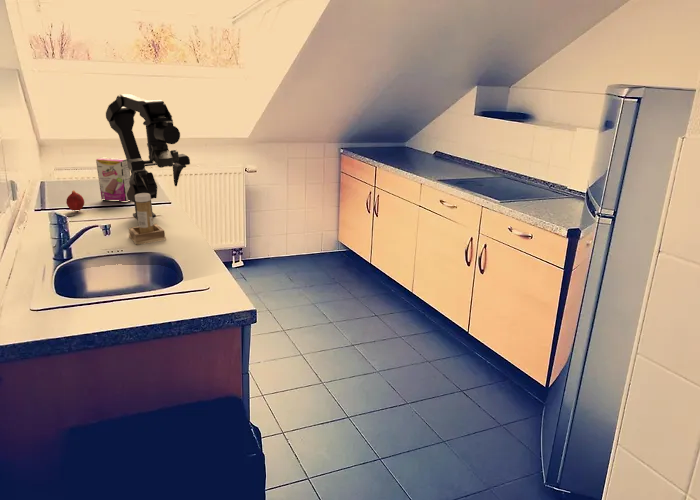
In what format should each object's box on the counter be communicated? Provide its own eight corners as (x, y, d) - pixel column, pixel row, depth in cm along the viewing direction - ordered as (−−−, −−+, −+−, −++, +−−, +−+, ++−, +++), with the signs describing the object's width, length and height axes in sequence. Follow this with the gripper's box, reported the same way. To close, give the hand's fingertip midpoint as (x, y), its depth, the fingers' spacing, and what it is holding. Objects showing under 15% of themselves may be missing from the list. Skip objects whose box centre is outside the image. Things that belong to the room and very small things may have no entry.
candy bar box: (100, 201, 220) (94, 159, 215) (108, 198, 225) (103, 156, 219) (126, 203, 218) (121, 160, 212) (134, 200, 222) (129, 158, 217)
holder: (129, 236, 181) (127, 227, 180) (157, 232, 186) (156, 223, 185) (136, 244, 174) (135, 235, 173) (166, 239, 179) (165, 230, 178)
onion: (89, 211, 207) (85, 190, 205) (74, 215, 203) (70, 193, 200) (79, 208, 210) (76, 187, 208) (64, 212, 206) (61, 191, 203)
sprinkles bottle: (157, 235, 181) (153, 193, 176) (145, 238, 177) (140, 196, 173) (148, 232, 183) (143, 191, 178) (136, 236, 180) (131, 194, 175)
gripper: (133, 146, 172) (139, 197, 177) (193, 141, 181) (198, 189, 187) (124, 141, 180) (130, 189, 186) (182, 136, 190) (186, 182, 195)
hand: (162, 187), depth 188 cm, fingers open, 9 cm apart
